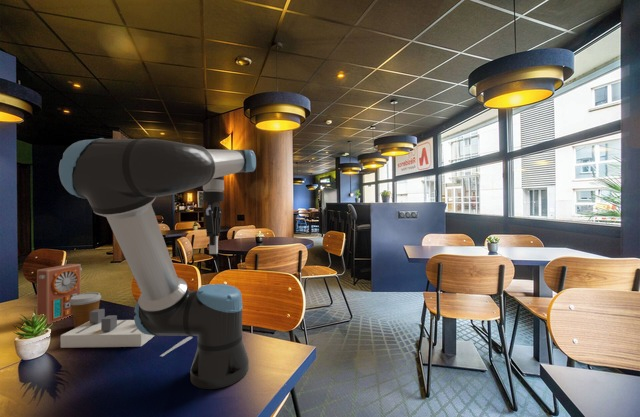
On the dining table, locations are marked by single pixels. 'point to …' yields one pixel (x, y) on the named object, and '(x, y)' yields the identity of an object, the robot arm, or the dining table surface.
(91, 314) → the tab
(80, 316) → the disposable coffee cup
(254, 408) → the dining table surface
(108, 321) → the tab
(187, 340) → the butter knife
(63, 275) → the control panel
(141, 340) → the switch bank
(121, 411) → the dining table surface
